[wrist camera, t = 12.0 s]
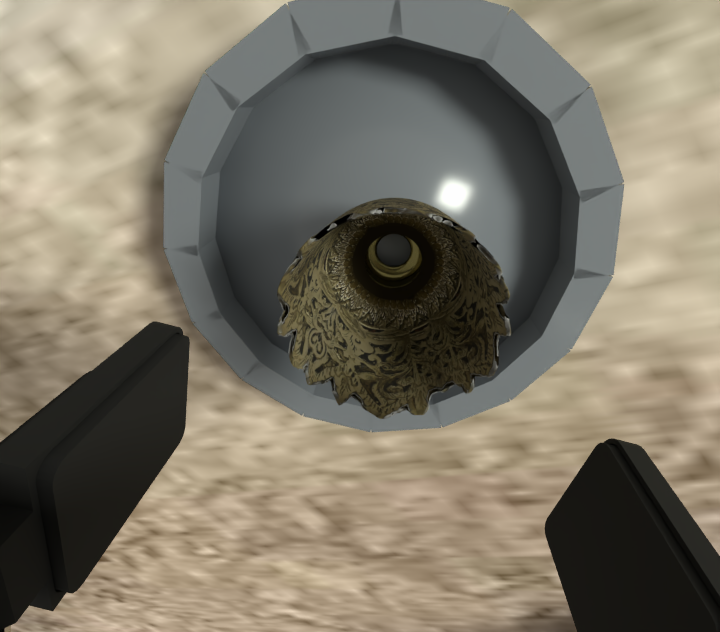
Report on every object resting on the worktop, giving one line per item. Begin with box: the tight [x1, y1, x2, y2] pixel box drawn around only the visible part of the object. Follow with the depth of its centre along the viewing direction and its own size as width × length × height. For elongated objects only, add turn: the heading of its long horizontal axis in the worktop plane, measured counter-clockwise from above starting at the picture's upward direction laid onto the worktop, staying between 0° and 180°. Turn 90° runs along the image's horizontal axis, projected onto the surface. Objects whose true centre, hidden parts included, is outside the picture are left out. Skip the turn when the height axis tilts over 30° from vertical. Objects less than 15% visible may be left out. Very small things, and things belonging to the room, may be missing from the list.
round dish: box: [163, 0, 624, 432], centre depth 19 cm, size 20×20×3 cm
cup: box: [277, 198, 511, 419], centre depth 16 cm, size 7×7×8 cm
